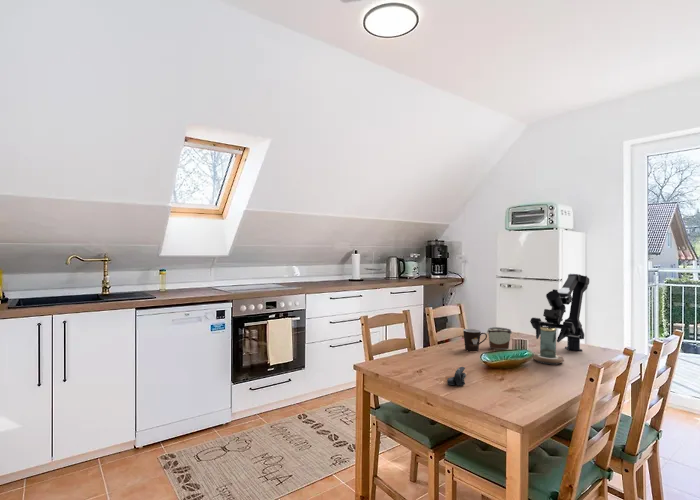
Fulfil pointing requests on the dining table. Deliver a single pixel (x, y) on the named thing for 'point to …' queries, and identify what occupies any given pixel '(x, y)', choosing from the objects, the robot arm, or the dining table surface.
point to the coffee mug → (472, 339)
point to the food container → (499, 337)
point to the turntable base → (547, 363)
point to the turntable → (549, 360)
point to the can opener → (457, 378)
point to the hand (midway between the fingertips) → (547, 340)
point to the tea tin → (548, 342)
